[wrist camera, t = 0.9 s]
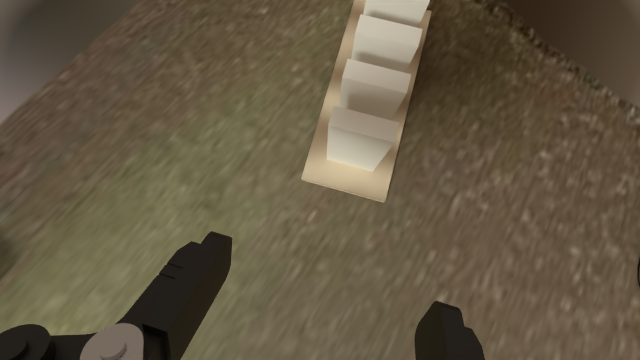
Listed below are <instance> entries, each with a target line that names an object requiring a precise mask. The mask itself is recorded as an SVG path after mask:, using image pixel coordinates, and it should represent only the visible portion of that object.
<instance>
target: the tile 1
mask: <svg viewBox="0 0 640 360" xmlns="http://www.w3.org/2000/svg"><path fill="white" fill-rule="evenodd" d="M398 127H399V122H395V121H391V120H388V119H384V118H380V117H376V116H372V115H368V114H364V113H361V112H357V111H353V110H349V109H345V108H341V107H337V106H334V107H333V111H332V114H331V117H330V121H329V124H328V142H327V159H328V160H332V161H336V162H339V163H343V164H347V165H350V166H354V167H358V168H361V169H365V170H369V171H373V170H374V169H375V168H376V167H377V165H378V164H379V163H380V161H381V160H382V159H383V157H384V156H385V155H386V153H387V152H388V151H389V149H390V148H391V147H392V145H393V144H394V143H395V139H396V135H397V131H398Z"/></svg>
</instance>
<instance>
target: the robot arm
mask: <svg viewBox="0 0 640 360" xmlns="http://www.w3.org/2000/svg"><path fill="white" fill-rule="evenodd" d="M231 250H232V238H231V237H229V236H226V235H222V234H219V233H216V232H212V231H211V232H210V233H209V234H208V235H207V236H206V237H205V239H204V240H203V241H202V243H201V244H198V243H195V242H192V241H191V242H190V243H188V244H187V245H185V246H184V247H182V248H180V249H179V250H177V252H176V253H175V254H174V255H173V256H172V258H171V259H170V260H169V261H168V263H167V265H165V266H164V268H163V269H162V270H161V271H160V273H159V275H157V276H156V278H155V279H154V280H153V281H152V282H151V284H150V285H149V286H148V287H147V289H146V290H145V291H144V292H143V294H142V295H141V296H140V297H139V299H138V300H137V301H136V302H135V303H134V305H133V306H132V307H131V308H130V310H129V311H128V312H127V313H126V315H125V316H124V317H123V318H122V319H121V320H119V321H118V322H117V323H116V324H114V325H111V326H108V327H106V328H104V329H102V330H100V331H99V332H97V333H93V334H86V335H59V336H50V334H49V333H48V331H47V330H46V329H45V328H44V327H42V326H40V325H35V324H27V325H21V326H17V327H14V328H11V329H9V330H6V331H4V332H3V333H1V334H0V360H180V359H181V357H182V356H183V354H184V352H185V350H186V349H187V347H188V345H189V343H190V342H191V340H192V338H193V336H194V334H195V333H196V331H197V329H198V327H199V326H200V324H201V322H202V320H203V319H204V317H205V315H206V313H207V312H208V310H209V308H210V306H211V304H212V303H213V301H214V299H215V297H216V296H217V294H218V292H219V290H220V289H221V287H222V285H223V283H224V281H225V280H226V277H227V275H228V272H229V269H230V265H231ZM639 281H640V267H639ZM415 354H416V360H485V358H484V354H483V350H482V346H481V344H480V342H479V341H478V339H477V337H476V335H475V334H474V332H473V330H472V329H470V328H467V327H464V323H463V318H462V313H461V311H460V309H459V308H458V307H455V306H451V305H448V304H445V303H441V302H438V301H435V302H434V303H433V304H432V305H431V307H430V308H429V310H428V311H427V312H426V314H425V315H424V317H423V318H422V319H421V321H420V322H419V324H418V326H417V329H416V333H415Z"/></svg>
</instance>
